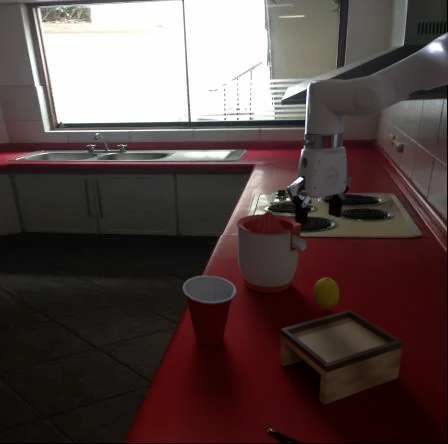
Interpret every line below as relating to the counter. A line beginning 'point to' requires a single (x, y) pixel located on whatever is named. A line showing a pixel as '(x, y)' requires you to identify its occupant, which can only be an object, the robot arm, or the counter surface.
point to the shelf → (343, 353)
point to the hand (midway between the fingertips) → (318, 219)
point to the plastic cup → (209, 306)
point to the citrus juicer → (268, 251)
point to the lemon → (326, 293)
